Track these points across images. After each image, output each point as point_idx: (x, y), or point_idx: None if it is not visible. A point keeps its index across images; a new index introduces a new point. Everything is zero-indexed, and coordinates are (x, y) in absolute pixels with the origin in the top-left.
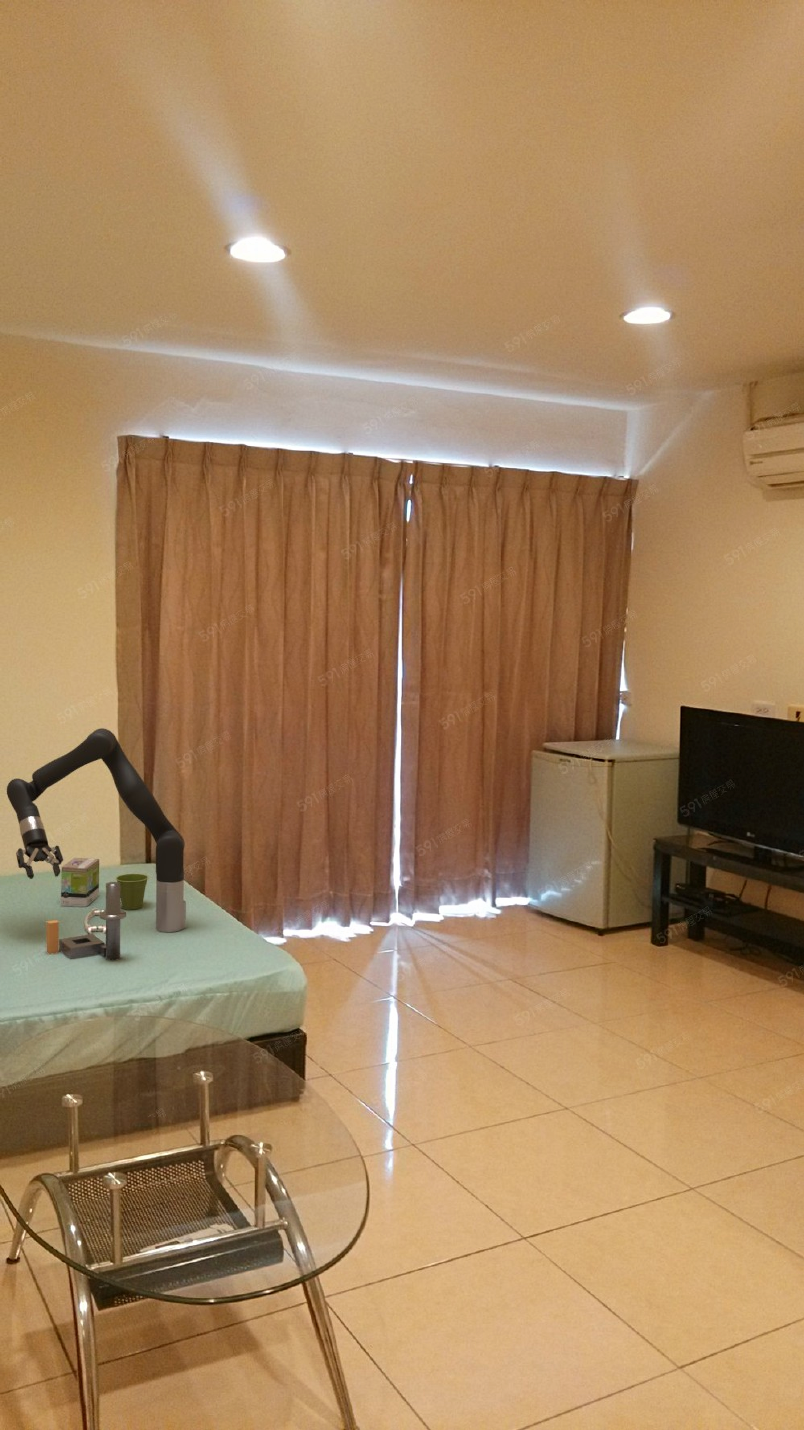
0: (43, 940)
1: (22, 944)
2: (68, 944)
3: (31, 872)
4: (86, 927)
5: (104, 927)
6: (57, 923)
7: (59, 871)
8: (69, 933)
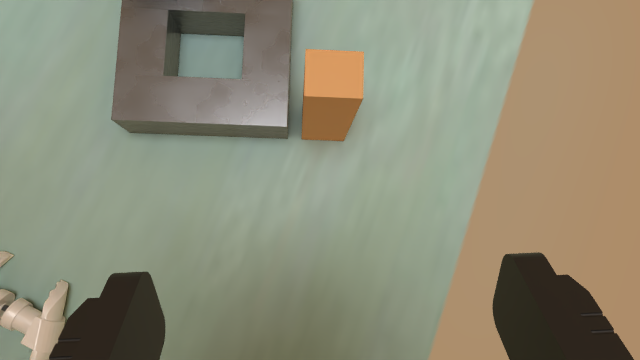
0: (295, 310)
1: (398, 304)
2: (279, 28)
3: (558, 288)
4: (53, 334)
5: None
6: (312, 51)
7: (87, 311)
8: None
